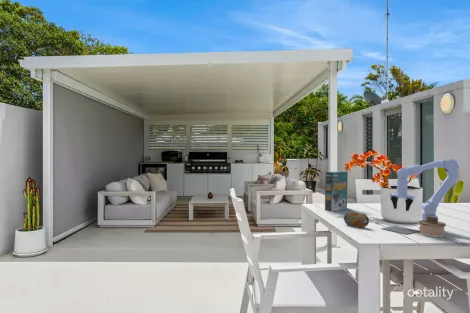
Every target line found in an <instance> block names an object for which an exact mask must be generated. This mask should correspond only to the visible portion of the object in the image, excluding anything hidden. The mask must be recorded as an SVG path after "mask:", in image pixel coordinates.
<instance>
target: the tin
mask: <svg viewBox="0 0 470 313" xmlns="http://www.w3.org/2000/svg"><path fill="white" fill-rule="evenodd" d="M343 221H344V223H345V224H346V225H347V226H350V227H356V228H361V229H362V228H365V227H367V226H368V225H369V223H370V219H369V216H368V215H367V214H364V213H361V212H352V211H350V212H349V211H348V212H346V213H345V214H344V216H343Z"/></svg>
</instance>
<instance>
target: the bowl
mask: <svg viewBox="0 0 470 313" xmlns="http://www.w3.org/2000/svg"><path fill="white" fill-rule="evenodd" d="M419 227H420V228H419V231H420V235H422V236H425V237H430V238H443V237H444V235H445V226H444V227H434V226H427V225H422V224H419Z"/></svg>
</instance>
